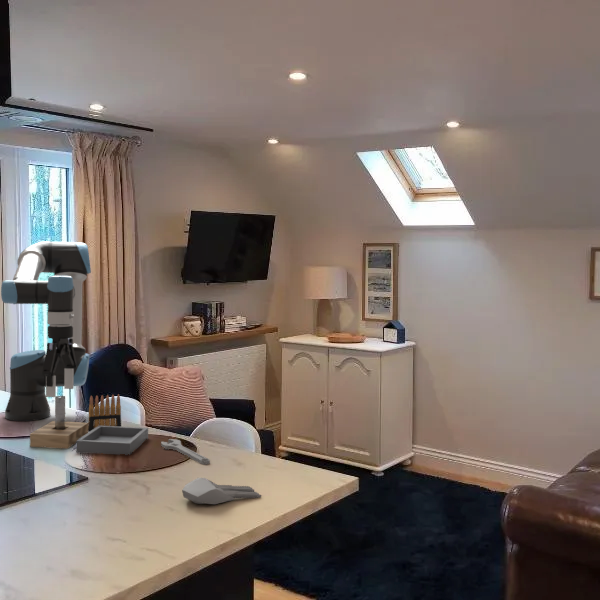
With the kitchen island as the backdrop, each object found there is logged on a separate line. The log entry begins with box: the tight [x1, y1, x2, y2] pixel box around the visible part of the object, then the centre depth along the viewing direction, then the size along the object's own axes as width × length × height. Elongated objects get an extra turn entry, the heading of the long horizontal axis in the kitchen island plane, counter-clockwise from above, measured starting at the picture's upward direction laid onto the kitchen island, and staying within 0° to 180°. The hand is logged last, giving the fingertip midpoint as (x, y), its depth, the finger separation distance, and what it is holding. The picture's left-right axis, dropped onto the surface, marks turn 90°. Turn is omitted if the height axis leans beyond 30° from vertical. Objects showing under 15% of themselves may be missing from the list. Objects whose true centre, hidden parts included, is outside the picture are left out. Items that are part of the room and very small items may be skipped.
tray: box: [75, 426, 149, 456], centre depth 220 cm, size 18×16×4 cm
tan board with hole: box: [29, 420, 89, 450], centre depth 223 cm, size 16×12×4 cm
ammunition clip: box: [87, 393, 122, 432], centre depth 237 cm, size 11×2×12 cm, turn 113°
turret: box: [181, 477, 262, 505], centre depth 176 cm, size 10×20×5 cm, turn 116°
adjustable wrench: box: [160, 438, 211, 466], centre depth 213 cm, size 25×6×2 cm, turn 33°
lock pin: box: [54, 395, 66, 430], centre depth 223 cm, size 3×3×14 cm
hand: (60, 392), depth 222 cm, fingers open, 13 cm apart
